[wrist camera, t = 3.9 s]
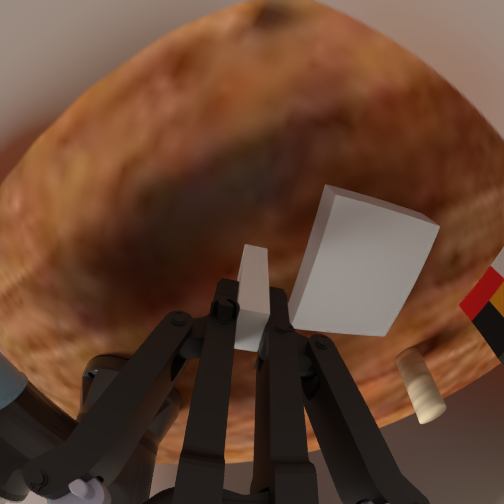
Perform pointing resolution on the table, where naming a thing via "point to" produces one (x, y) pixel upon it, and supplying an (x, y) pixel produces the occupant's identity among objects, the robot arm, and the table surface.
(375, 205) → the slab
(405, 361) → the dowel
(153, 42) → the table surface
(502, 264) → the puzzle toy
